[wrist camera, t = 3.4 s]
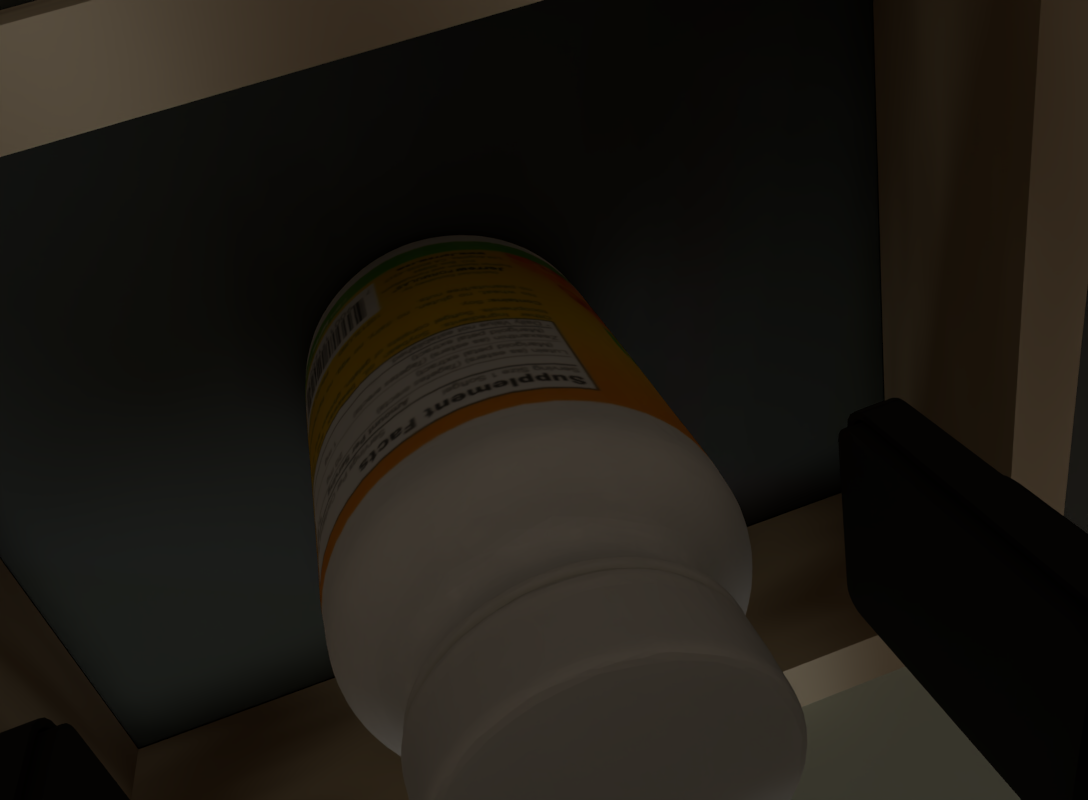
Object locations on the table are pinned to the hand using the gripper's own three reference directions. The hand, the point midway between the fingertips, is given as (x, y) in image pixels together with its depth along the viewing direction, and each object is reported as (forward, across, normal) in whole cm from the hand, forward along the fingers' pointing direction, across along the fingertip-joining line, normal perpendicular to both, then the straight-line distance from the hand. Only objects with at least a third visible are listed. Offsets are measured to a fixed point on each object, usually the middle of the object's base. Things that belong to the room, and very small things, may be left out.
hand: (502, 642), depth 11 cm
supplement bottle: (+7, -1, 0) cm, 7 cm away
